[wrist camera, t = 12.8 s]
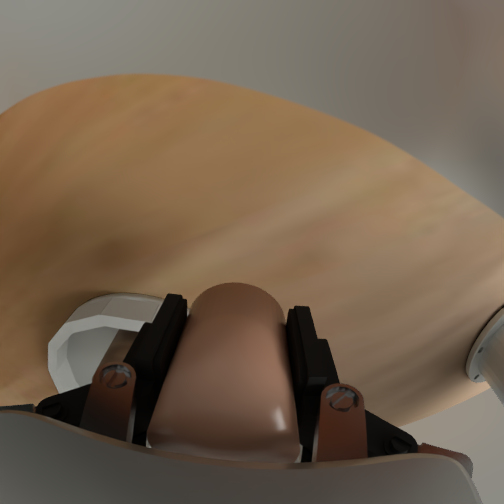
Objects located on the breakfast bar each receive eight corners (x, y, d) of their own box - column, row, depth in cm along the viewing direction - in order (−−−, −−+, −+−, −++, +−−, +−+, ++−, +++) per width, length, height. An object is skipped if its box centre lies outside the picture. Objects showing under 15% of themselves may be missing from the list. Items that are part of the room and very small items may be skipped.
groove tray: (266, 305, 22) (268, 333, 19) (246, 441, 30) (246, 464, 27) (43, 279, 22) (22, 298, 18) (90, 415, 29) (82, 435, 26)
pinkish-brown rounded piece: (292, 287, 11) (316, 414, 6) (278, 364, 13) (285, 483, 7) (187, 277, 11) (133, 396, 6) (189, 356, 13) (158, 470, 7)
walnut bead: (160, 324, 22) (139, 377, 16) (164, 361, 23) (148, 413, 18) (115, 318, 22) (85, 366, 16) (122, 354, 23) (99, 402, 18)
